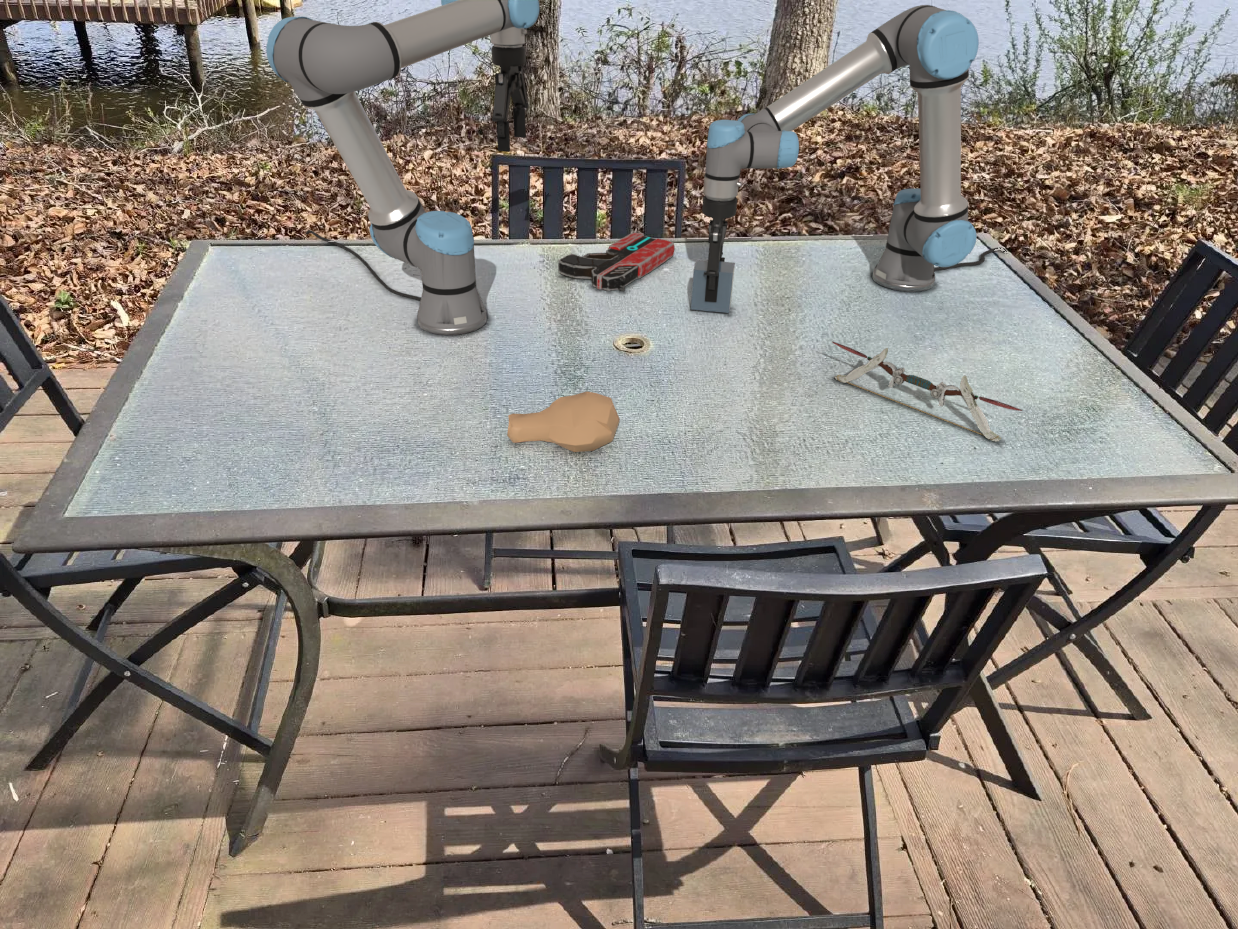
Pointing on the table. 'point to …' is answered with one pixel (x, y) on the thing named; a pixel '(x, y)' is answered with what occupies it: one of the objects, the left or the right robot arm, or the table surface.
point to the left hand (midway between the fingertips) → (512, 143)
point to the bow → (936, 391)
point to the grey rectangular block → (723, 287)
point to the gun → (618, 261)
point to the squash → (569, 423)
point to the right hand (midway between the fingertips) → (712, 294)
